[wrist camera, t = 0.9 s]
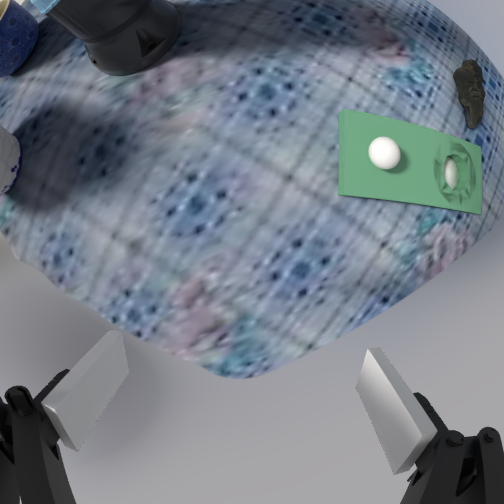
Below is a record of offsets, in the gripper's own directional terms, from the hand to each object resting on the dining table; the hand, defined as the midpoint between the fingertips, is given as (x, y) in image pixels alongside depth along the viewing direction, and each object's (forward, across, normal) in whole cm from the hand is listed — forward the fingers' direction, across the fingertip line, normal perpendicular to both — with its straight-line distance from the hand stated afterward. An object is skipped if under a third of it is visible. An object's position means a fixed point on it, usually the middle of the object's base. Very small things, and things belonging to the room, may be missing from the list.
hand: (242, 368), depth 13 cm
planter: (+24, -52, +42) cm, 71 cm away
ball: (+18, +15, +15) cm, 28 cm away
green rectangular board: (+23, +23, +15) cm, 36 cm away
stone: (+24, +35, +31) cm, 53 cm away
